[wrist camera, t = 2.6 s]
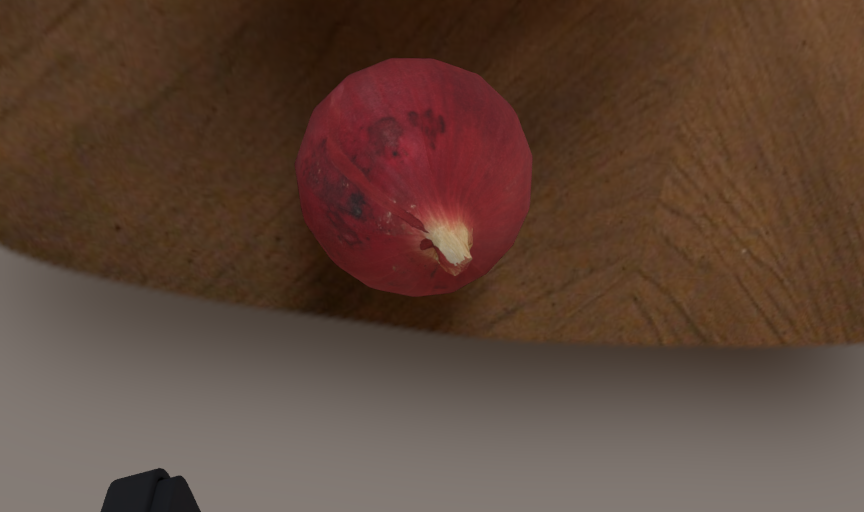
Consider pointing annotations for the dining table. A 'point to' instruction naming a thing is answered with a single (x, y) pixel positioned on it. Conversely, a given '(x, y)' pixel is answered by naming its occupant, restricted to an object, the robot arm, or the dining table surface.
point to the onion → (414, 176)
